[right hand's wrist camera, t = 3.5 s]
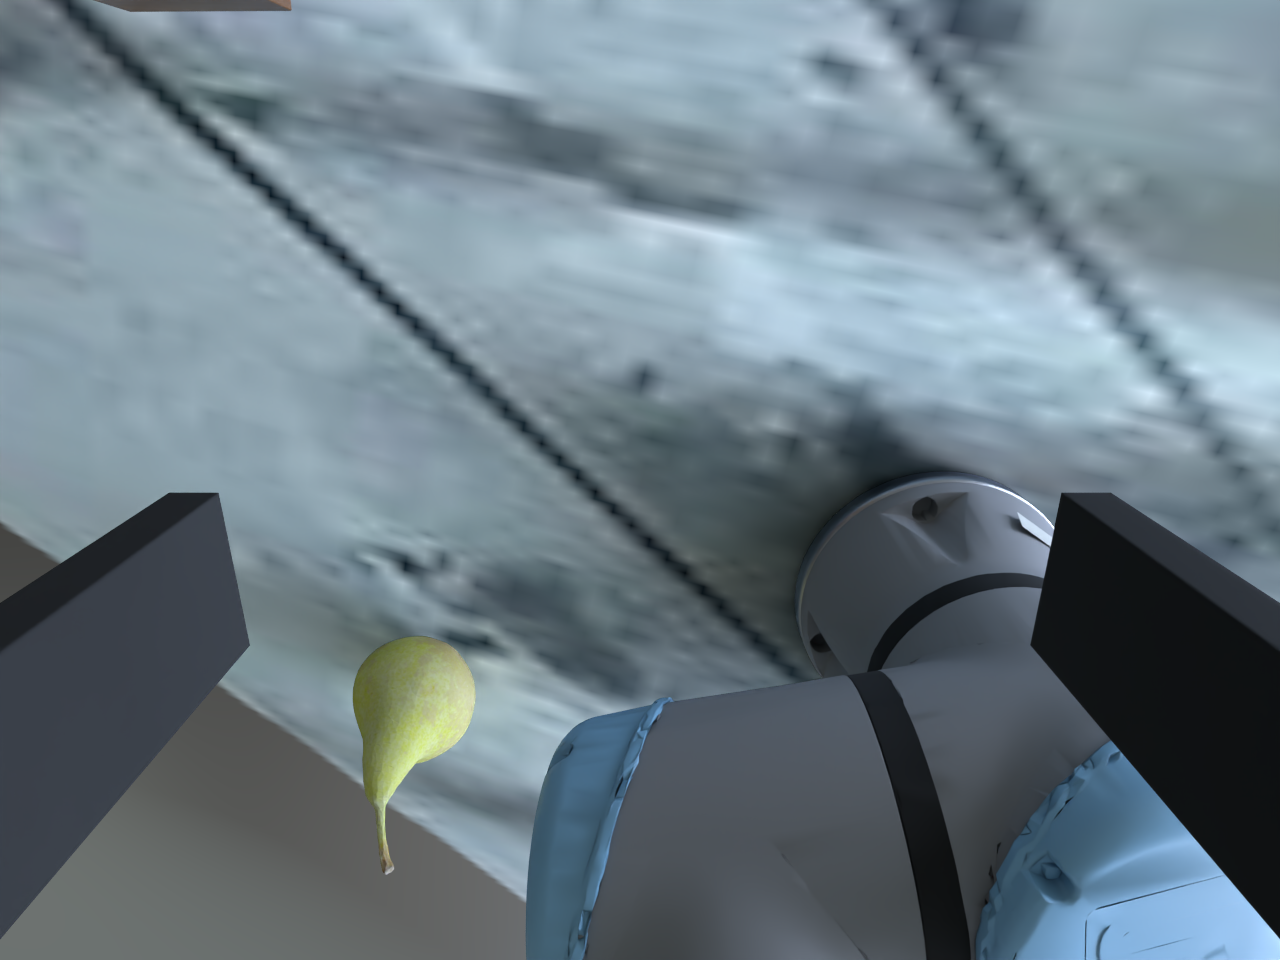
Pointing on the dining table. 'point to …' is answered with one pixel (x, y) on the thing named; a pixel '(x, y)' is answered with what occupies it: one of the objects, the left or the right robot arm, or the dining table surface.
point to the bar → (199, 5)
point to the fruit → (408, 714)
